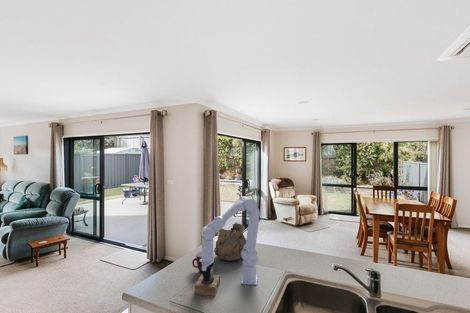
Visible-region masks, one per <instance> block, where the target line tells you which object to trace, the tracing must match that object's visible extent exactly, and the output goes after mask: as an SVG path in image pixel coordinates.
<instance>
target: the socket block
mask: <svg viewBox="0 0 470 313" xmlns="http://www.w3.org/2000/svg"><path fill="white" fill-rule="evenodd" d="M220 284H221V276H220V275H218V274H217V275H216V274H213V282H212V284H207V283H203V274H202V273H200V275H199V278H198V279H197V281H196V283H195V285H194V295H201V296H203V295H204V296H213V297H214V296H215V297H216V294H217V292H218V290H219V287H220Z"/></svg>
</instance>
